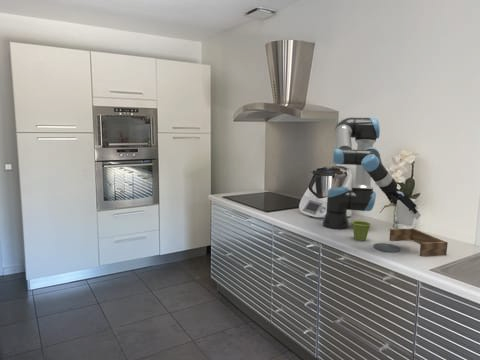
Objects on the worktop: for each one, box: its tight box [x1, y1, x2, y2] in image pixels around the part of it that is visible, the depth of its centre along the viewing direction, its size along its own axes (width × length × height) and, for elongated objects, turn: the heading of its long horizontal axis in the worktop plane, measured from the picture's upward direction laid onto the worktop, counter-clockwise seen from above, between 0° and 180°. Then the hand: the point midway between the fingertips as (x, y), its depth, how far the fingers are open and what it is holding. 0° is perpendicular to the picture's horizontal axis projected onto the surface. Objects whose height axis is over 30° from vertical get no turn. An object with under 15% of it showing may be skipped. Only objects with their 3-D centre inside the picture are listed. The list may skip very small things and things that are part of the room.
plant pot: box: [351, 220, 372, 241], centre depth 185 cm, size 9×9×9 cm
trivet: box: [373, 242, 401, 253], centre depth 171 cm, size 12×12×1 cm
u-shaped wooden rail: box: [388, 228, 448, 257], centre depth 174 cm, size 14×24×6 cm, turn 11°
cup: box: [396, 197, 418, 226], centre depth 171 cm, size 9×9×12 cm
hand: (411, 214), depth 172 cm, fingers closed on cup, 9 cm apart
